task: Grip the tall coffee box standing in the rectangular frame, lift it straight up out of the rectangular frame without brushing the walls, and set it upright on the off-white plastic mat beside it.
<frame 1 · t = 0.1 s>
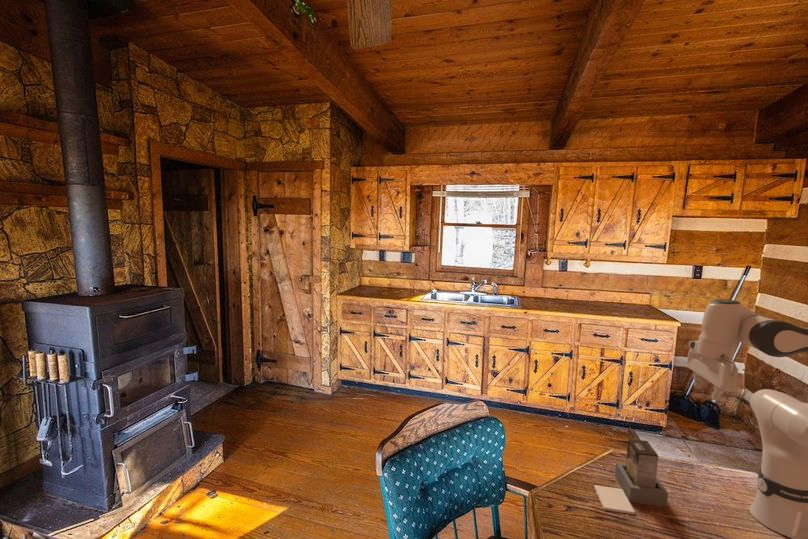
hand: (705, 393, 116), 39 cm above the table, tool pointing down, fingers open, 8 cm apart
coffee box: (639, 490, 128), resting in rectangular frame
rectangular frame: (639, 490, 128), on the table
mat: (613, 500, 123), on the table
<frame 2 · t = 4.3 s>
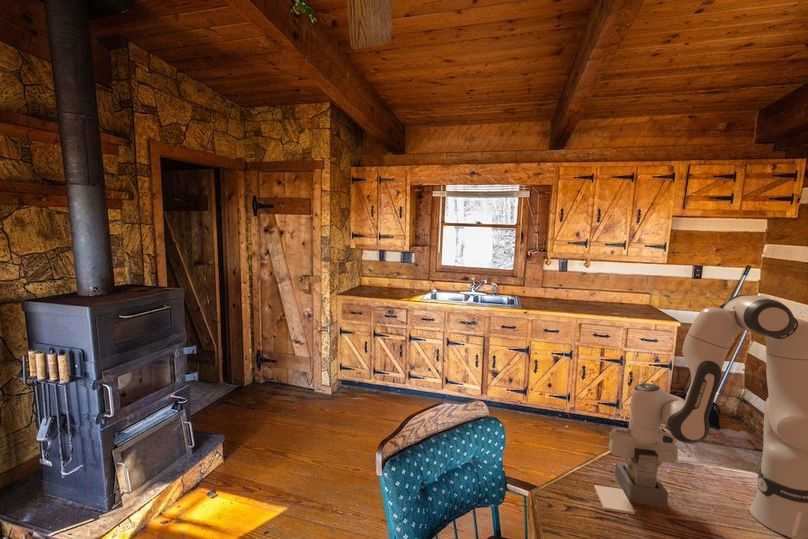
hand: (640, 469, 127), 8 cm above the table, tool pointing down, fingers closed on coffee box, 6 cm apart
coffee box: (639, 490, 128), resting in rectangular frame, touching gripper
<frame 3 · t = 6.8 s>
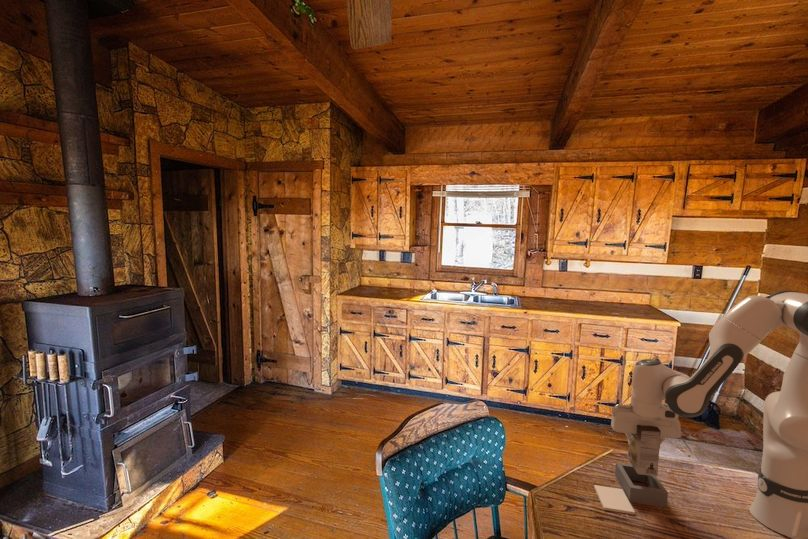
hand: (643, 446, 127), 16 cm above the table, tool pointing down, fingers closed on coffee box, 6 cm apart
coffee box: (642, 468, 127), point 8 cm above the table, touching gripper
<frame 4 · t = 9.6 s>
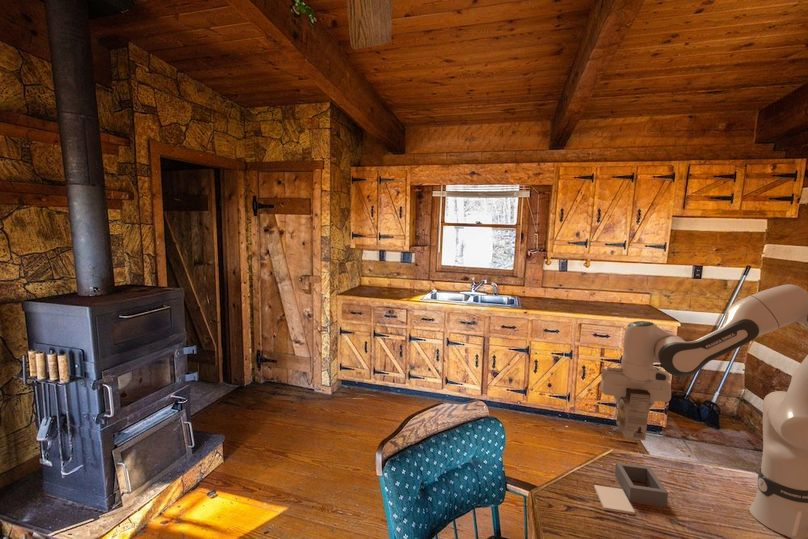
hand: (632, 410, 123), 30 cm above the table, tool pointing down, fingers closed on coffee box, 6 cm apart
coffee box: (630, 432, 124), point 22 cm above the table, touching gripper
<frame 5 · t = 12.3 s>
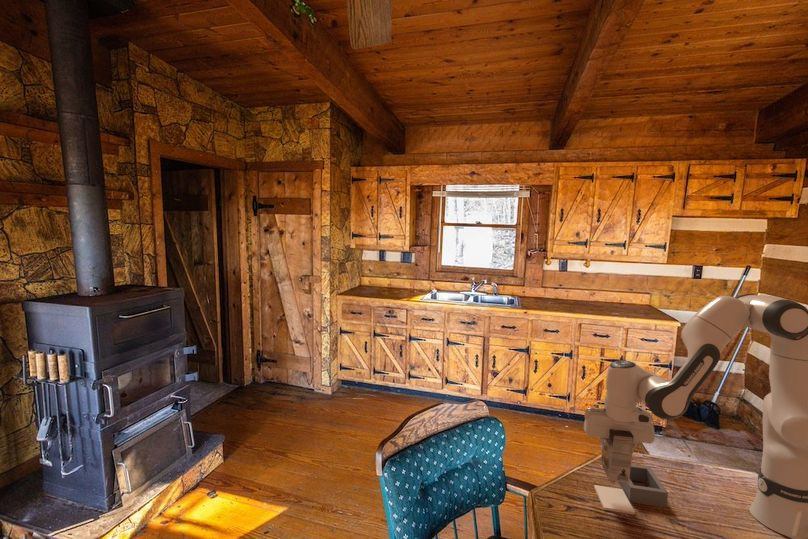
hand: (616, 450, 122), 17 cm above the table, tool pointing down, fingers closed on coffee box, 6 cm apart
coffee box: (614, 473, 122), point 9 cm above the table, touching gripper
when the fingers open (9 cm above the table, at t = 14.8 s): coffee box stays where it is, resting on mat.
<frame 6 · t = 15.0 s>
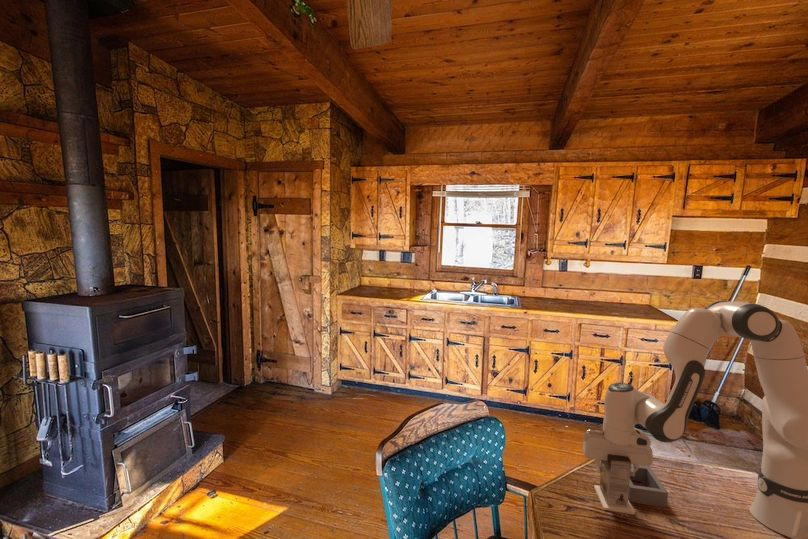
hand: (615, 472, 122), 10 cm above the table, tool pointing down, fingers open, 8 cm apart
coffee box: (613, 497, 123), point 1 cm above the table, touching mat
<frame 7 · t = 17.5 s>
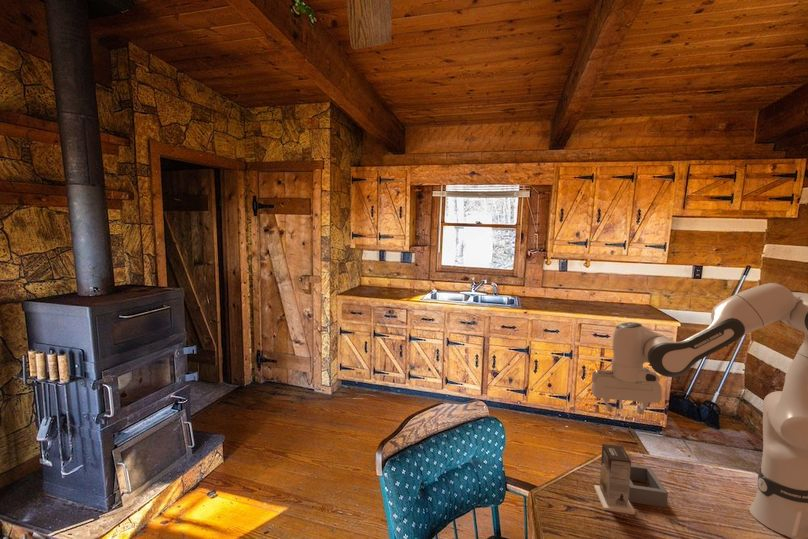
hand: (624, 412, 123), 29 cm above the table, tool pointing down, fingers open, 8 cm apart
nothing on the table moved.
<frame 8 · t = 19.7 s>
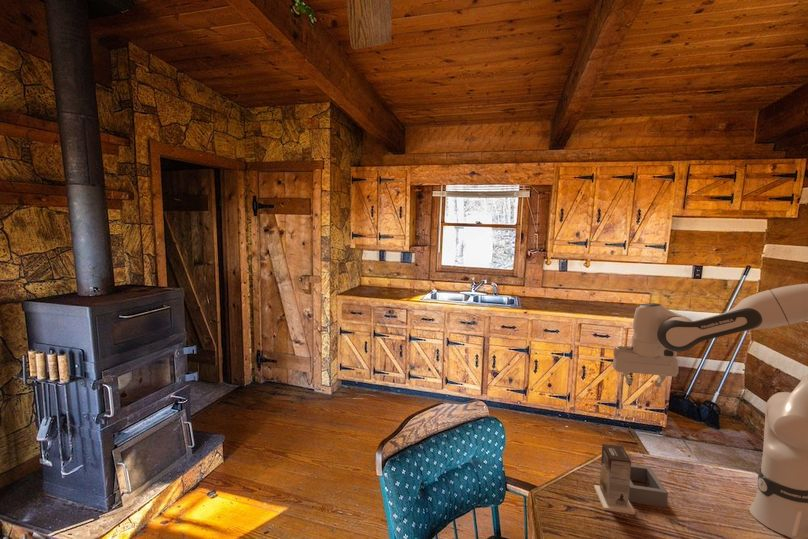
hand: (643, 385, 134), 34 cm above the table, tool pointing down, fingers open, 8 cm apart
nothing on the table moved.
at the end: coffee box inside the target area on the mat (0.2 cm from its centre), point 0.6 cm above the mat's base; coffee box tilted 0°; coffee box touching mat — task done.
